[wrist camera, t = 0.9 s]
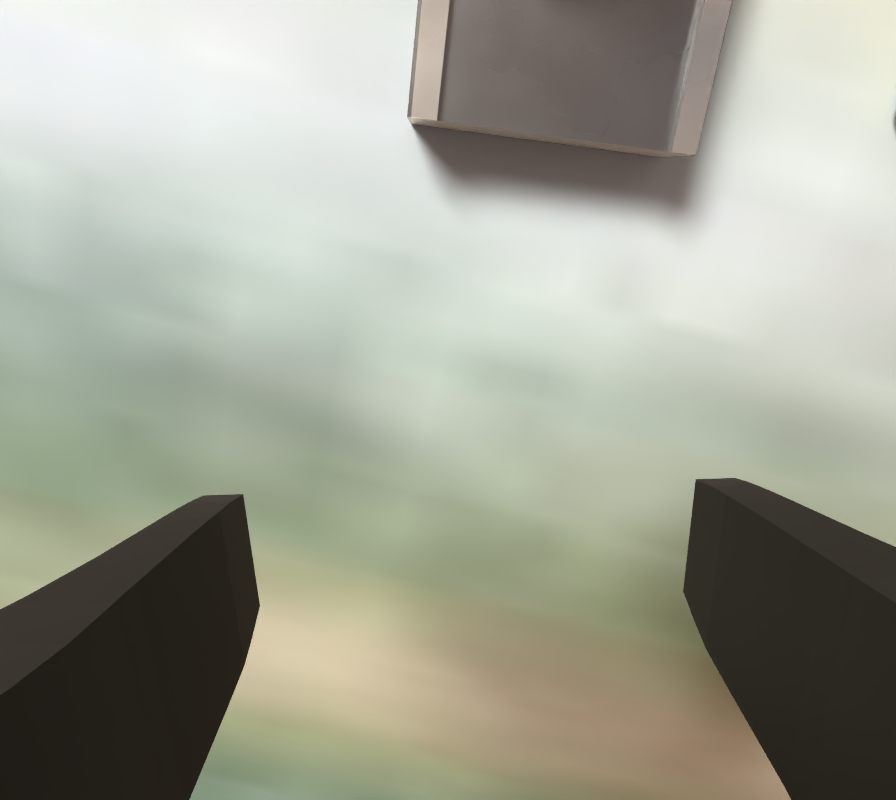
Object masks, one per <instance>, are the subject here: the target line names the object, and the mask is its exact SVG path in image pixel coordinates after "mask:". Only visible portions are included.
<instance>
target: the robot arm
mask: <svg viewBox="0 0 896 800" xmlns="http://www.w3.org/2000/svg"><path fill="white" fill-rule="evenodd" d="M683 592H684V594H685V597H686V600H687V602H688V605H689V608H690V610H691V613H692V615H693V618H694V621H695V623H696V626H697V628H698V630H699V633H700V635H701V638H702V640H703V642H704V645H705V647H706V649H707V651H708V653H709V655H710V657H711V658H712V660H713V662H714V664H715V666H716V667H717V669H718V671H719V673H720V675H721V676H722V678H723V680H724V682H725V684H726V685H727V687H728V689H729V691H730V692H731V694H732V696H733V698H734V699H735V701H736V703H737V705H738V706H739V708H740V710H741V712H742V713H743V715H744V717H745V719H746V720H747V722H748V724H749V726H750V727H751V729H752V731H753V732H754V734H755V736H756V738H757V739H758V741H759V743H760V745H761V746H762V748H763V750H764V752H765V753H766V755H767V757H768V759H769V760H770V762H771V764H772V766H773V767H774V769H775V771H776V773H777V774H778V776H779V778H780V779H781V781H782V783H783V785H784V786H785V788H786V790H787V792H788V794H789V796H790V798H791V800H896V547H894V546H892V545H890V544H887V543H885V542H883V541H880V540H878V539H876V538H873V537H871V536H869V535H867V534H864V533H862V532H860V531H858V530H855V529H853V528H851V527H849V526H847V525H844V524H842V523H840V522H838V521H836V520H833V519H831V518H829V517H827V516H825V515H822V514H820V513H818V512H816V511H814V510H812V509H809V508H807V507H805V506H803V505H801V504H798V503H796V502H794V501H792V500H790V499H787V498H785V497H783V496H781V495H778V494H776V493H774V492H771V491H769V490H767V489H764V488H762V487H760V486H757V485H755V484H752V483H749V482H746V481H743V480H740V479H737V478H724V479H696V483H695V492H694V500H693V509H692V518H691V527H690V536H689V545H688V554H687V563H686V572H685V581H684V590H683ZM259 607H260V604H259V597H258V591H257V584H256V577H255V571H254V564H253V557H252V551H251V544H250V537H249V531H248V524H247V517H246V511H245V504H244V497H243V494H238V495H208V496H202V497H199V498H197V499H195V500H193V501H191V502H189V503H187V504H185V505H183V506H181V507H180V508H178V509H176V510H174V511H173V512H171V513H169V514H168V515H166V516H164V517H163V518H161V519H159V520H158V521H156V522H154V523H153V524H151V525H149V526H148V527H146V528H144V529H143V530H141V531H139V532H138V533H136V534H134V535H133V536H131V537H129V538H128V539H126V540H124V541H123V542H121V543H119V544H118V545H116V546H114V547H113V548H111V549H109V550H108V551H106V552H104V553H103V554H101V555H99V556H98V557H96V558H94V559H93V560H91V561H89V562H87V563H85V564H84V565H82V566H80V567H78V568H76V569H75V570H73V571H71V572H69V573H67V574H66V575H64V576H62V577H60V578H58V579H57V580H55V581H53V582H51V583H49V584H48V585H46V586H44V587H42V588H40V589H39V590H37V591H35V592H33V593H31V594H30V595H28V596H26V597H24V598H22V599H20V600H18V601H16V602H14V603H12V604H10V605H8V606H6V607H4V608H2V609H0V800H189V799H190V797H191V794H192V792H193V789H194V787H195V785H196V782H197V780H198V777H199V775H200V772H201V770H202V768H203V765H204V763H205V760H206V758H207V756H208V753H209V751H210V748H211V746H212V744H213V741H214V739H215V736H216V734H217V731H218V729H219V727H220V724H221V722H222V719H223V717H224V715H225V712H226V710H227V707H228V705H229V702H230V700H231V697H232V695H233V692H234V690H235V687H236V685H237V682H238V680H239V677H240V675H241V672H242V670H243V667H244V665H245V661H246V658H247V654H248V650H249V647H250V643H251V639H252V635H253V631H254V627H255V623H256V619H257V615H258V611H259Z"/></svg>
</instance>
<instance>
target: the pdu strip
mask: <svg viewBox="0 0 896 800" xmlns="http://www.w3.org/2000/svg"><path fill="white" fill-rule="evenodd" d="M731 3H732V0H418V7H417V18H416V29H415V39H414V50H413V61H412V72H411V83H410V93H409V104H408V115H407V117H408V119H409V121H410V123H411V124H416V125H423V126H431V127H438V128H446V129H453V130H461V131H469V132H476V133H484V134H491V135H499V136H506V137H514V138H521V139H529V140H536V141H544V142H551V143H559V144H566V145H574V146H581V147H589V148H596V149H604V150H611V151H619V152H626V153H634V154H642V155H649V156H657V157H674V156H693V155H696V153H697V149H698V145H699V140H700V136H701V132H702V128H703V123H704V119H705V115H706V110H707V106H708V102H709V98H710V93H711V89H712V85H713V80H714V76H715V72H716V68H717V63H718V59H719V55H720V51H721V46H722V42H723V38H724V33H725V29H726V25H727V21H728V16H729V12H730V8H731Z"/></svg>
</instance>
